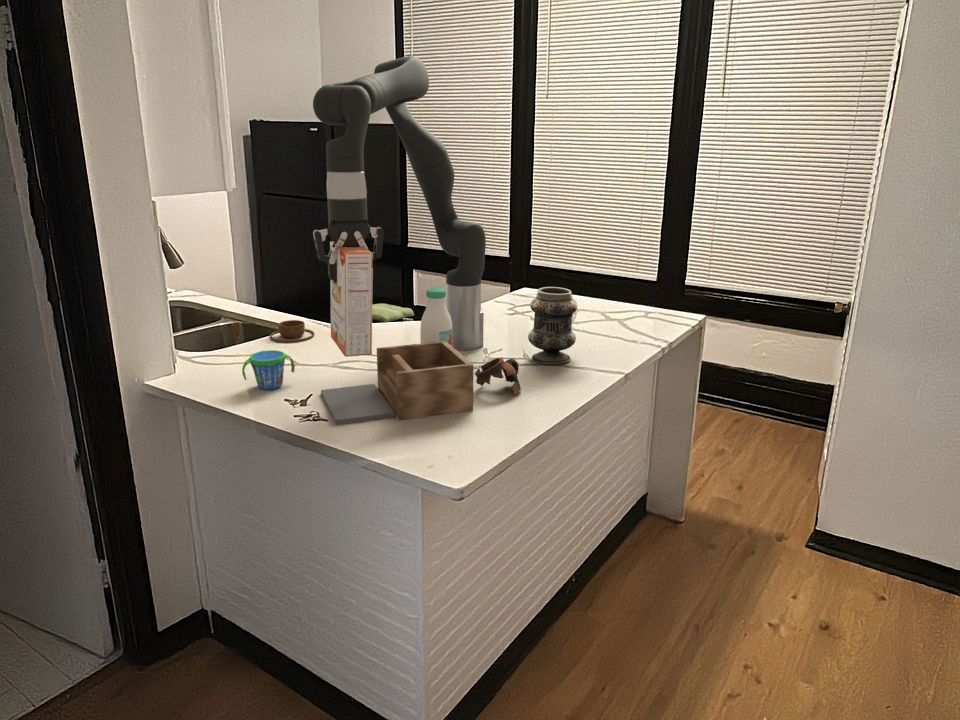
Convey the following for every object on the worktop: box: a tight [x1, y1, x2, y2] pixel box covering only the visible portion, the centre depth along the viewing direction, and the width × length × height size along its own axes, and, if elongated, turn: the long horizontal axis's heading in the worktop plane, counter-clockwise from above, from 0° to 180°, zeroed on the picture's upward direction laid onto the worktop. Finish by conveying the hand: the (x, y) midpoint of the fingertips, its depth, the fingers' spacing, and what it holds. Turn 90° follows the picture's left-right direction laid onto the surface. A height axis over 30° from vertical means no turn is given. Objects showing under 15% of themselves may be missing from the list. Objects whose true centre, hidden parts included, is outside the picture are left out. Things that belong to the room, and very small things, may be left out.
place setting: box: [231, 319, 315, 344], centre depth 199 cm, size 18×20×6 cm
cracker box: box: [329, 240, 374, 358], centre depth 146 cm, size 14×6×21 cm, turn 22°
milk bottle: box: [419, 287, 453, 347], centre depth 172 cm, size 8×8×20 cm
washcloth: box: [372, 303, 415, 323], centre depth 223 cm, size 13×18×3 cm
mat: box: [320, 383, 396, 425], centre depth 152 cm, size 12×18×1 cm, turn 21°
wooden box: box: [376, 341, 474, 421], centre depth 154 cm, size 16×18×10 cm
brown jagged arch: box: [474, 357, 522, 396], centre depth 162 cm, size 12×9×8 cm
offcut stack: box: [386, 355, 413, 387], centre depth 153 cm, size 4×12×9 cm, turn 21°
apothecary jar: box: [527, 286, 578, 366], centre depth 181 cm, size 12×12×18 cm
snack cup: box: [241, 349, 296, 391], centre depth 162 cm, size 11×8×7 cm
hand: (351, 280), depth 144 cm, fingers closed on cracker box, 6 cm apart
